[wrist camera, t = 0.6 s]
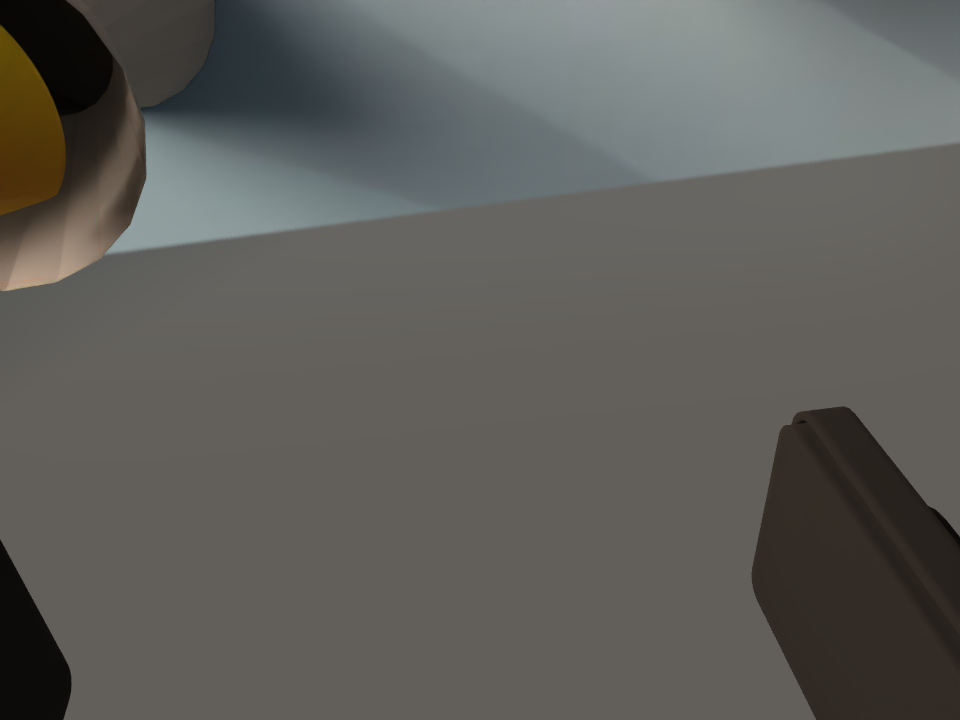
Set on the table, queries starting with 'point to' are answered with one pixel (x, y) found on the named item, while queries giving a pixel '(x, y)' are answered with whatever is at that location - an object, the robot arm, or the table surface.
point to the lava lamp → (82, 121)
